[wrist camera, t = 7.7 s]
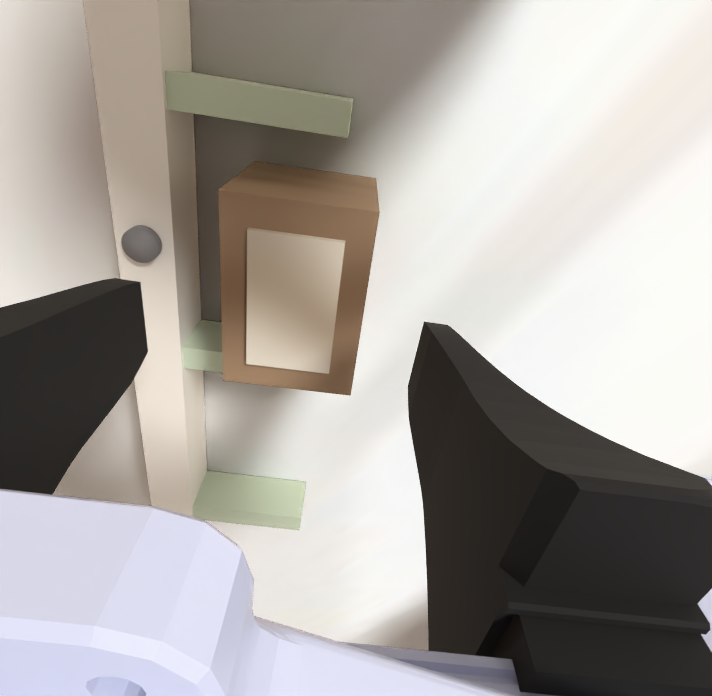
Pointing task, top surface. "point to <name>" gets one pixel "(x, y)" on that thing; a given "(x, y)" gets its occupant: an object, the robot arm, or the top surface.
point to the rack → (180, 238)
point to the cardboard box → (294, 275)
